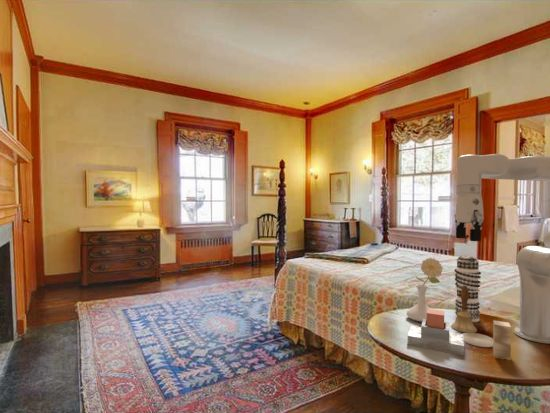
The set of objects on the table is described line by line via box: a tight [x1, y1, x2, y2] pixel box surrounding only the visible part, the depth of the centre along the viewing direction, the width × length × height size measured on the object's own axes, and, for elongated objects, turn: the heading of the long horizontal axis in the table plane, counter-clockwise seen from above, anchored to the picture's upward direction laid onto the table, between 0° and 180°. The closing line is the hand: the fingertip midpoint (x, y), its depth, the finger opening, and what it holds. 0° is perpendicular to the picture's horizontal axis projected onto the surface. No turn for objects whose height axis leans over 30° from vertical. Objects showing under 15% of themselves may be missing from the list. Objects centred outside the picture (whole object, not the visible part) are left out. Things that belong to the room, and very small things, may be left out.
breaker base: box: [407, 319, 465, 356], centre depth 107 cm, size 16×10×6 cm, turn 61°
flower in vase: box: [406, 257, 444, 323], centre depth 129 cm, size 13×11×25 cm
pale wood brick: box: [492, 319, 512, 361], centre depth 99 cm, size 4×4×10 cm
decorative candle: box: [454, 255, 482, 323], centre depth 132 cm, size 9×9×25 cm
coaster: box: [461, 332, 493, 348], centre depth 110 cm, size 10×10×1 cm
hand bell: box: [450, 286, 478, 333], centre depth 121 cm, size 8×8×16 cm
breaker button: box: [427, 308, 445, 329], centre depth 107 cm, size 5×5×4 cm
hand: (467, 239), depth 114 cm, fingers open, 9 cm apart
